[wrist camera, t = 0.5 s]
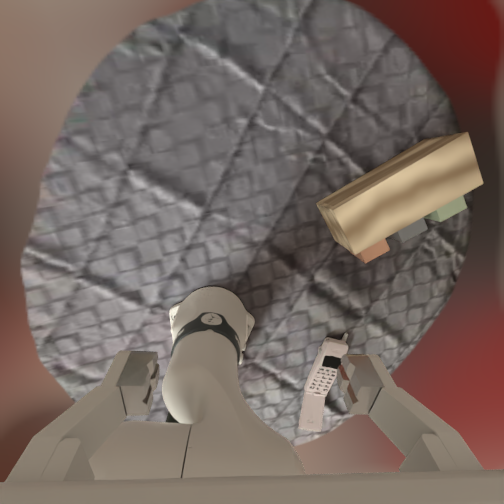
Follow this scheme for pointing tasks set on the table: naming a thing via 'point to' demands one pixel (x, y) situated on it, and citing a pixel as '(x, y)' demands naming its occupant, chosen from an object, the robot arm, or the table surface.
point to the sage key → (447, 210)
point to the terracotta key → (373, 251)
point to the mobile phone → (321, 382)
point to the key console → (401, 191)
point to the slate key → (410, 231)
